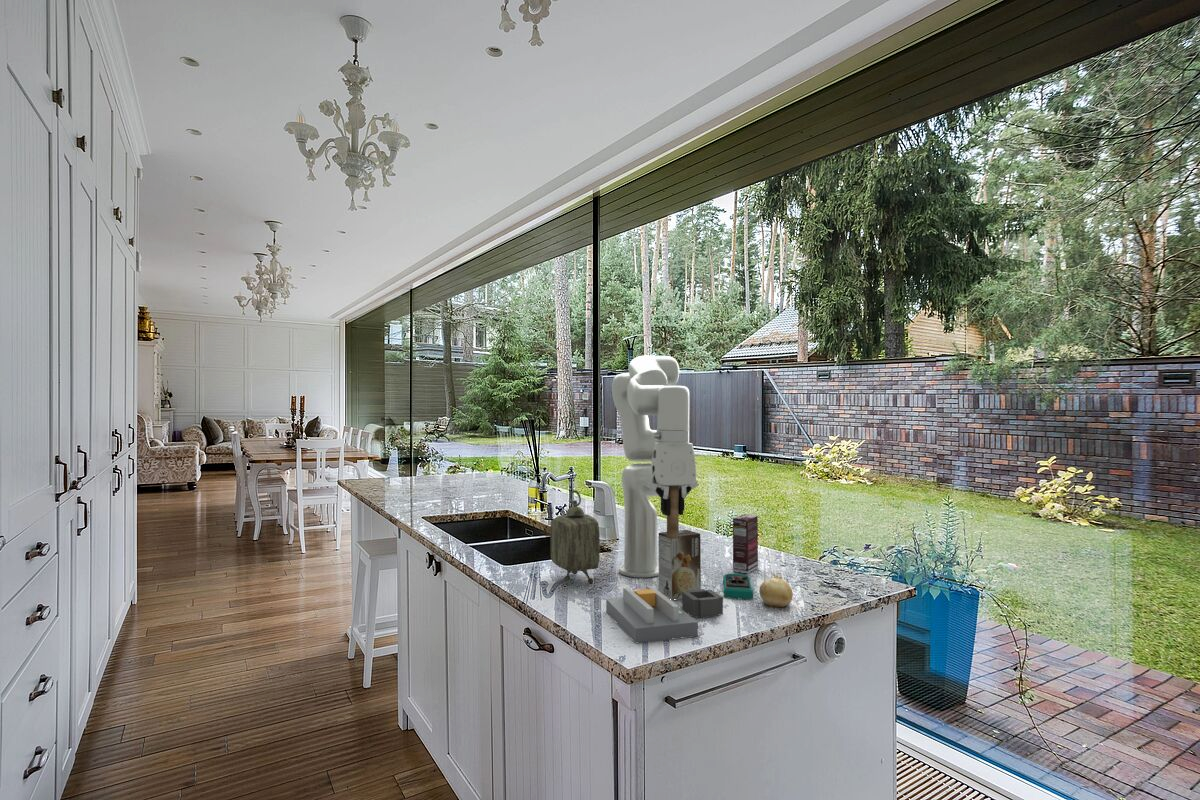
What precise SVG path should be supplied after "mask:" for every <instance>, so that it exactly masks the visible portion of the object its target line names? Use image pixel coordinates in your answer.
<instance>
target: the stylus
mask: <svg viewBox="0 0 1200 800" xmlns="http://www.w3.org/2000/svg"><path fill="white" fill-rule="evenodd" d="M668 499H670V515H669V516H666V532H667V538H670V539H677V538H679V529H680V527H679V524H680V523H679V522H680V521H679V518H680V515H679V486H669V493H668Z"/></svg>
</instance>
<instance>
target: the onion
mask: <svg viewBox="0 0 1200 800" xmlns="http://www.w3.org/2000/svg"><path fill="white" fill-rule="evenodd" d="M771 574H772V576H773V577H772V578H768V579H766V580H763V582H761V584H760V586H759V589H758V590H759V591H758V592H759V596H760V598H761V599H762V602H763V603H764V604H765V605H766V606H769V607H772V608H773V607H774V608H783V607H786V606H787V605H788V604H790V603H791V602H792V600H793V596H794V591H793V589H792V587H791V586H790V584H789V583H788V582H787V581H786V580H785V579H783V577H782V576H781V575H779V574H776V575H775V574H774V573H771Z"/></svg>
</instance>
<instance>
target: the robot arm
mask: <svg viewBox="0 0 1200 800" xmlns="http://www.w3.org/2000/svg"><path fill="white" fill-rule="evenodd" d="M679 376H680V365H679V363H678V362H677V359H676V358H674V357H673V356H669V355H646V354H645V355H639V356H636V357H635V358H633V359H631V361H630V362H629V365H628V372H622V373H620V374H617V375H616V376H614V378H613V380H612V384H611V392H612V400H613V404H614V406H615V409H616V411H617V413H618V415H619V418H620V423H621V434H622V445H623V453H624V455H625V458H626V459H627V460H628V461H630V462H635V463H632V464H629V465H627V466H626V467H624V468H623V470H622V473H621V485H622V491H623V502H624V547H623V548H624V549H623V550H624V554H623V555H624V558H623V559H624V561H623V562H624V564H622V565H620V566H619V567H618V572H619V573H620V574H621V575H624V576H626V577H631V578H639V579H640V578H643V579H644V578H652V577H653V578H654V577H659V564H658V511H657V508H656V507H655V505H654V504H653V503H652V502H651V501H650V500H649V499H650V498H651V497H659V498H660V511H661V514H662V515H664V516H666V517H667V516H669V515H670V499H668V493H669V486H679V516H684V511H685V499H686V498H687V495H688V494H689V493H690V492H691V491H693V490H694V489H695V488H697V487H698V486H699V483H698V481H697V466H696V456H695V449H694V445H693V443H692V442H690V390H689V388H688V387H687V386H685V385H677V382H678V381H679ZM649 416H657V429H651V427H650V420H649V419H650V418H649ZM637 462H639V463H637ZM644 462H645V463H644Z"/></svg>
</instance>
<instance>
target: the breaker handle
mask: <svg viewBox="0 0 1200 800" xmlns="http://www.w3.org/2000/svg"><path fill="white" fill-rule="evenodd" d="M633 592H634V593H636V594H637V595H638V596H639V597H640V598H641V599H643V600H644V601H645V602H646V603H647V604H648V605H650V606H655V592H654V591H652V590H651V589H646V588H645V589H635V590H633Z"/></svg>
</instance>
